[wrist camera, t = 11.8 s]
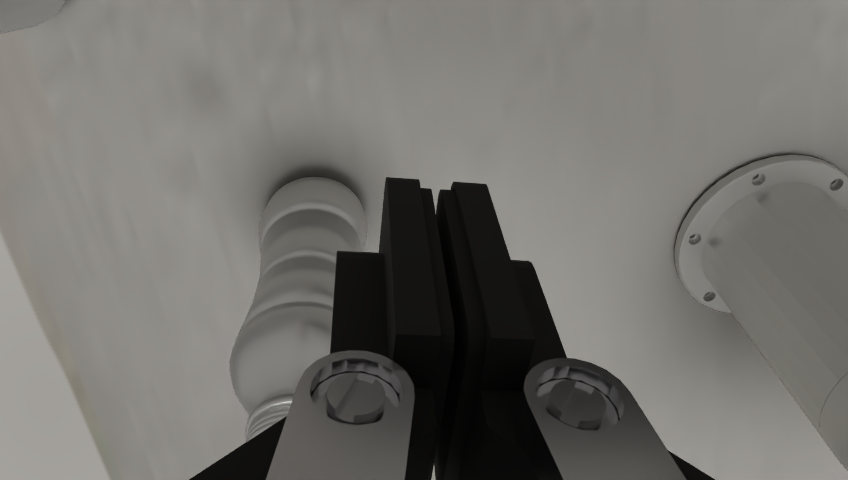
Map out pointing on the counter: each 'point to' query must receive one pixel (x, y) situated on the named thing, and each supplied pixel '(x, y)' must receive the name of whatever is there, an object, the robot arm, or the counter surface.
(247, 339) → the plastic bottle
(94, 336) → the counter surface
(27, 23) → the salt shaker
